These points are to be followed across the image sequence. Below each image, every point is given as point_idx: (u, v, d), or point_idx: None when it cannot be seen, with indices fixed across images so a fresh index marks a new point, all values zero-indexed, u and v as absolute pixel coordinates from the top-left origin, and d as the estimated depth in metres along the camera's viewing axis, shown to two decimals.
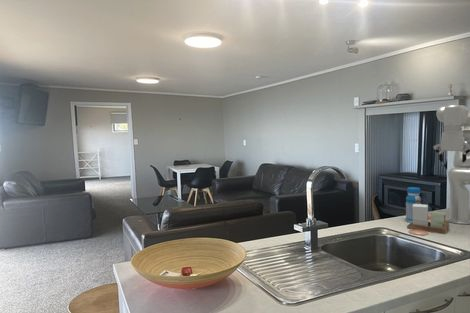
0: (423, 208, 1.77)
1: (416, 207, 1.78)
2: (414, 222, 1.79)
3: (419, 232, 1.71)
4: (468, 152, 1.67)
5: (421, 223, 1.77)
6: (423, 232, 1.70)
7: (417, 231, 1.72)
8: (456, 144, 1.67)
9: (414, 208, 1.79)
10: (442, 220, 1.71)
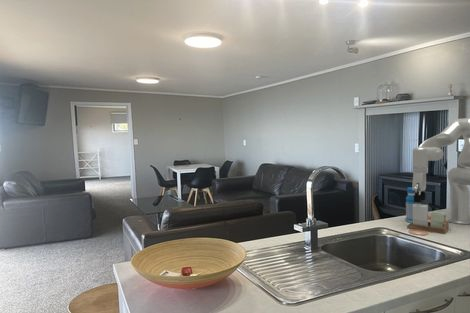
0: (423, 208, 1.77)
1: (416, 207, 1.78)
2: (414, 222, 1.79)
3: (419, 232, 1.71)
4: (421, 190, 1.85)
5: (421, 223, 1.77)
6: (423, 232, 1.70)
7: (417, 231, 1.72)
8: (425, 184, 1.80)
9: (414, 208, 1.79)
10: (442, 220, 1.71)
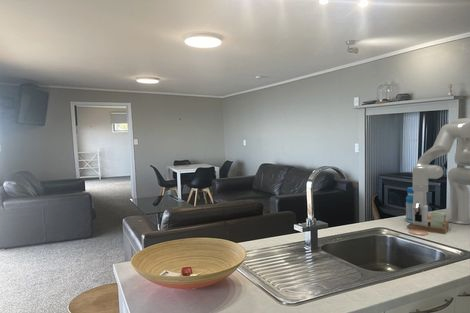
0: (423, 208, 1.77)
1: None
2: (414, 222, 1.79)
3: (419, 232, 1.71)
4: None
5: (421, 223, 1.77)
6: (423, 232, 1.70)
7: (417, 231, 1.72)
8: (426, 202, 1.80)
9: None
10: (442, 220, 1.71)
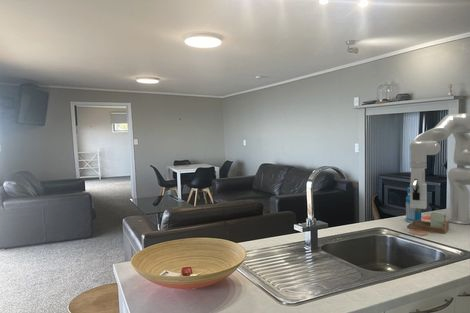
0: (421, 186, 1.67)
1: None
2: (411, 201, 1.69)
3: (419, 232, 1.71)
4: None
5: (419, 202, 1.68)
6: (423, 232, 1.70)
7: (417, 231, 1.72)
8: (424, 180, 1.70)
9: (412, 186, 1.69)
10: (442, 220, 1.71)
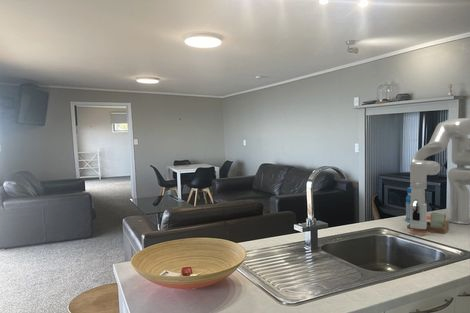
0: (421, 206, 1.67)
1: None
2: (411, 221, 1.70)
3: (419, 232, 1.71)
4: None
5: (419, 222, 1.68)
6: (423, 232, 1.70)
7: (417, 231, 1.72)
8: (424, 200, 1.71)
9: None
10: (442, 220, 1.71)
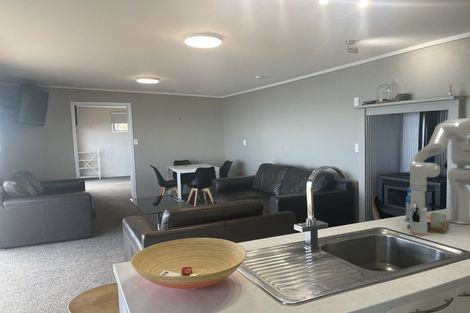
0: (421, 211, 1.68)
1: None
2: (412, 225, 1.71)
3: None
4: None
5: (419, 227, 1.69)
6: None
7: None
8: (424, 202, 1.71)
9: (412, 211, 1.70)
10: (442, 220, 1.71)
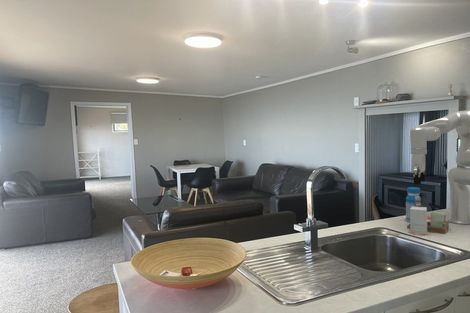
0: (421, 211, 1.68)
1: (414, 210, 1.70)
2: (412, 225, 1.71)
3: None
4: None
5: (419, 227, 1.69)
6: None
7: None
8: (424, 165, 1.75)
9: (412, 211, 1.70)
10: (442, 220, 1.71)
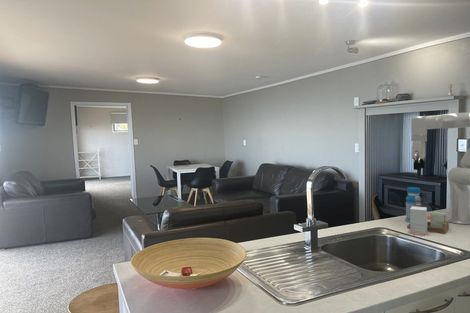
0: (421, 211, 1.68)
1: (414, 210, 1.70)
2: (412, 225, 1.71)
3: None
4: (420, 159, 1.89)
5: (419, 227, 1.69)
6: None
7: None
8: (424, 152, 1.83)
9: (412, 211, 1.70)
10: (442, 220, 1.71)
